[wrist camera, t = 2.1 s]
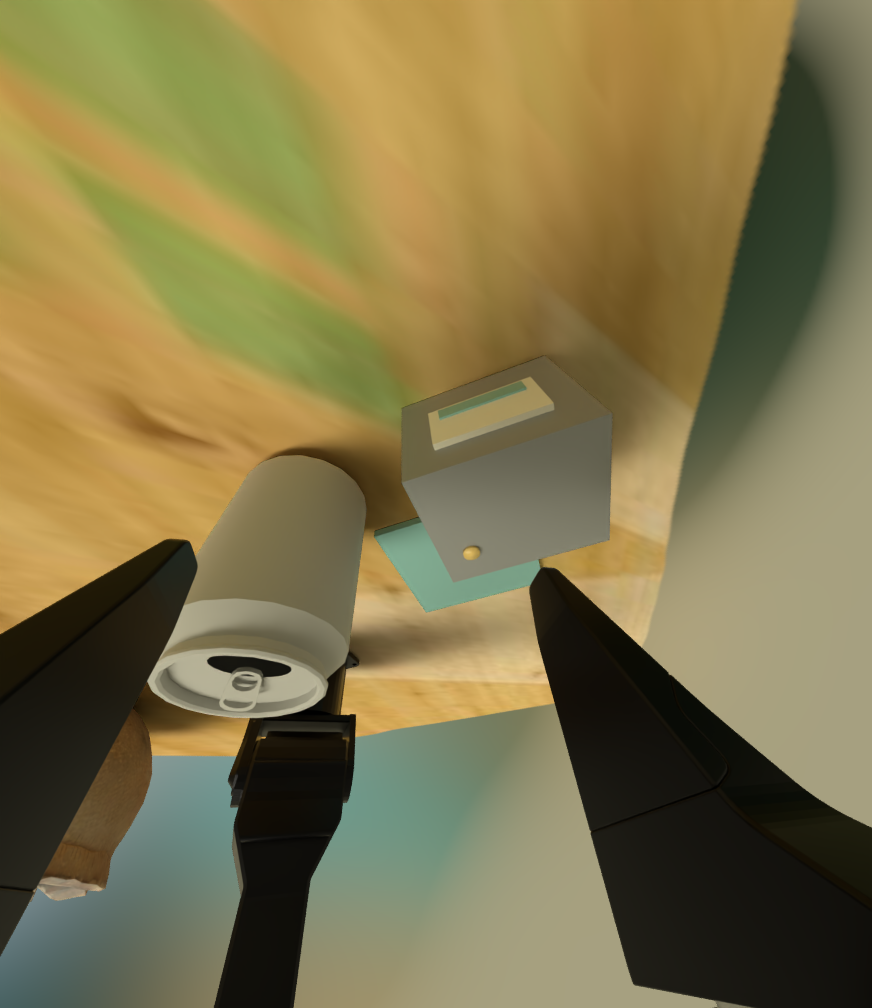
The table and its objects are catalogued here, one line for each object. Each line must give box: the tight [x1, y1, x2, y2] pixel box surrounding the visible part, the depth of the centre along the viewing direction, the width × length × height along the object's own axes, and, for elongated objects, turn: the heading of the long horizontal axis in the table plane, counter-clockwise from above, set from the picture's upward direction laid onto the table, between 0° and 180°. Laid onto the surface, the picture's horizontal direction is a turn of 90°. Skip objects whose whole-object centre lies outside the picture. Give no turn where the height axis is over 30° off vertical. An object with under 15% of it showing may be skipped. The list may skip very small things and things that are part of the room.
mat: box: [374, 517, 540, 613], centre depth 26 cm, size 11×11×1 cm
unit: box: [402, 356, 612, 583], centre depth 17 cm, size 7×8×7 cm
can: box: [147, 455, 367, 718], centre depth 17 cm, size 8×8×12 cm
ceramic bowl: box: [30, 709, 152, 902], centre depth 32 cm, size 22×22×15 cm
